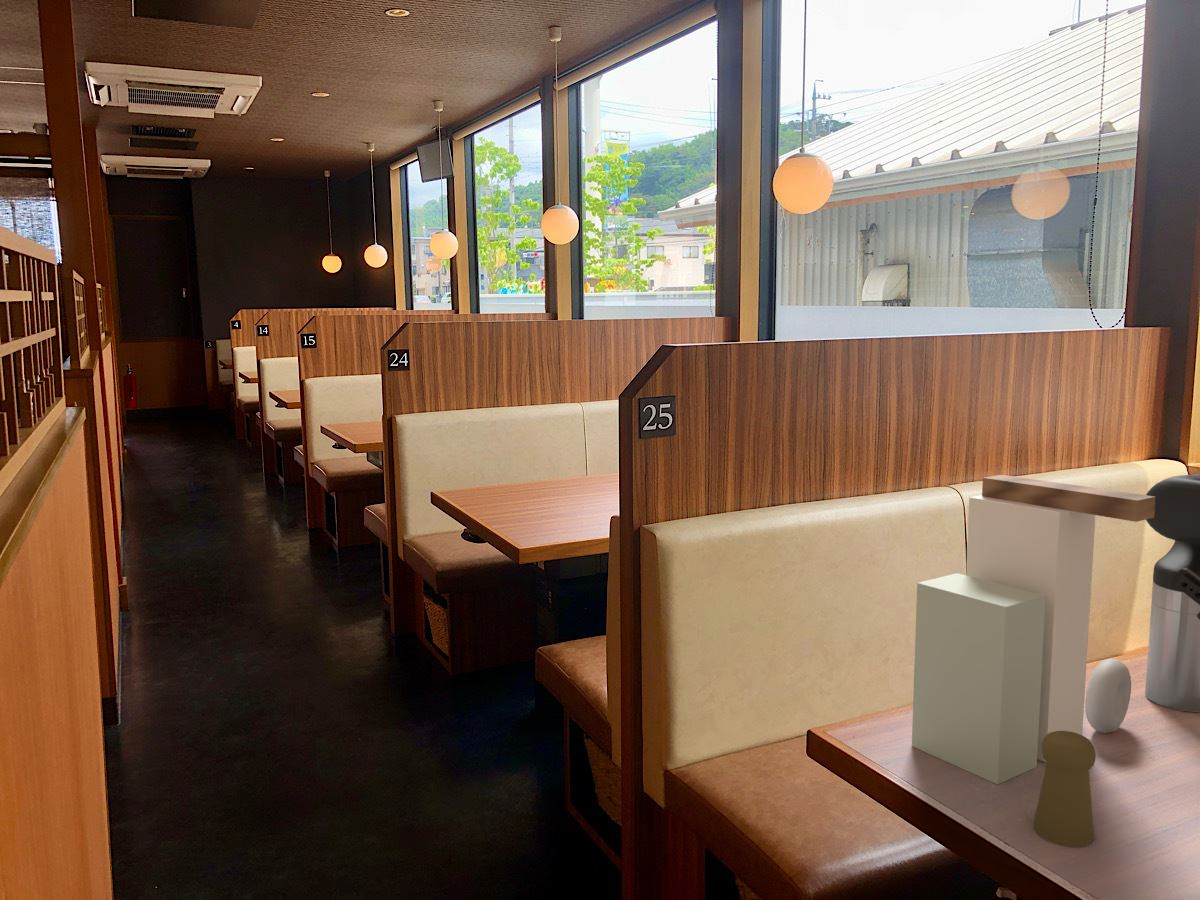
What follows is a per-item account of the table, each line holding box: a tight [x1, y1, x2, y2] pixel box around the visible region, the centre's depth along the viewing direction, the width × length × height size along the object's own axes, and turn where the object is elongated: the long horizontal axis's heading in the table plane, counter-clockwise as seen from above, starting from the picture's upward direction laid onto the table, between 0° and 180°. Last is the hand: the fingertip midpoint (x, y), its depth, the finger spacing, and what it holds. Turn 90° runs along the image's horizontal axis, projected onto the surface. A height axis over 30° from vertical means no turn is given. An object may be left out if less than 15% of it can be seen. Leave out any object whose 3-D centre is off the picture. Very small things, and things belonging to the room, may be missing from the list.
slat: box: [981, 474, 1156, 523], centre depth 116 cm, size 20×4×2 cm, turn 33°
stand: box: [911, 494, 1096, 785], centre depth 119 cm, size 12×18×32 cm
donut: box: [1084, 658, 1132, 734], centre depth 125 cm, size 10×4×10 cm, turn 134°
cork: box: [1032, 731, 1097, 848], centre depth 100 cm, size 6×6×11 cm
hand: (1197, 568), depth 104 cm, fingers open, 8 cm apart
